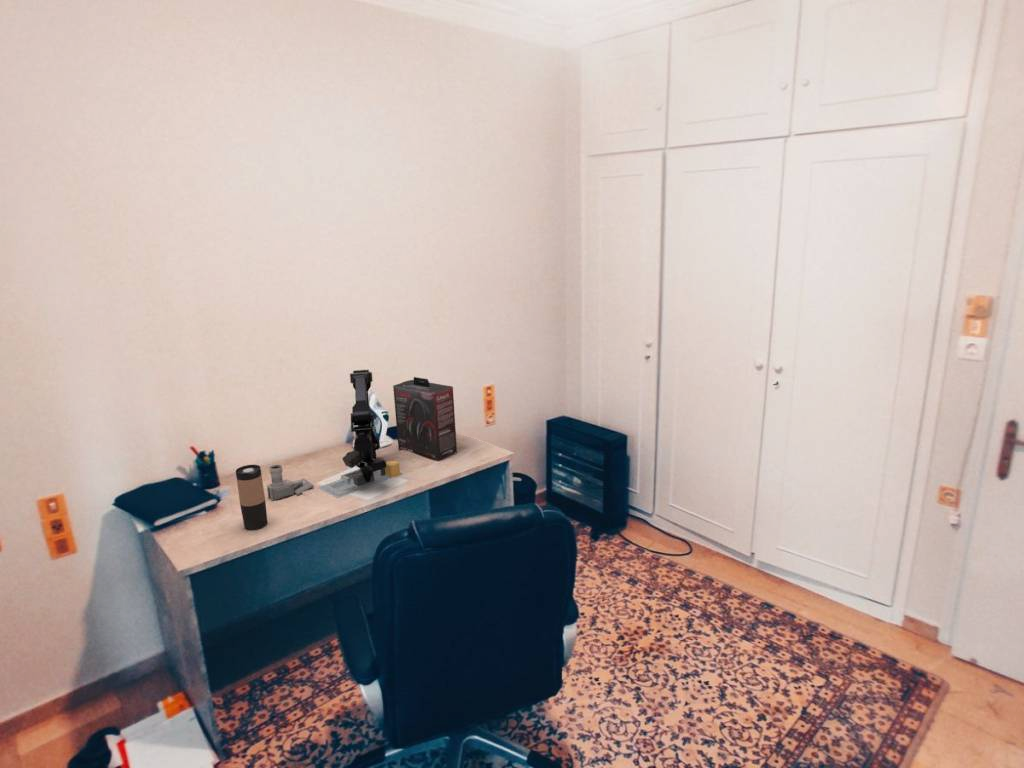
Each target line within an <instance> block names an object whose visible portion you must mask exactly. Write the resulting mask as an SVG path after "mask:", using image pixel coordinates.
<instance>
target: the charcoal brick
mask: <svg viewBox="0 0 1024 768" xmlns="http://www.w3.org/2000/svg"><path fill="white" fill-rule="evenodd" d="M353 480H354V484H355V485H357V486H359V485H363V484H366V483H369V482H372V481H374V473H373V474H372V476H371V479H370V481H369V482H366V481H365V478H364V476H363V474H359V475H356V476H353Z"/></svg>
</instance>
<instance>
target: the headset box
mask: <svg viewBox="0 0 1024 768" xmlns="http://www.w3.org/2000/svg"><path fill="white" fill-rule="evenodd" d="M392 388H393V400H394V410H395V423H396V434H397V448H398V451H405V452H406V451H407V452H410V453H412V454H415V455H417V456H419V457H422V458H426V459H431V460H434V461H441V460H443V459H445V458H448V457H449V456H452V455H454V454H456V453H458V447H457V432H456V430H457V429H456V415H455V403H454V402H455V400H454V387H453V386H452V385H445V384H441V383H439V384H438V383H433V382H430V381H429V379H428V378H423V377H417V376H413V379H409V380H406V381H402V382H401V383H398V384H394V385H393V386H392Z"/></svg>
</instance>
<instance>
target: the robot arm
mask: <svg viewBox="0 0 1024 768" xmlns="http://www.w3.org/2000/svg"><path fill="white" fill-rule="evenodd" d="M352 371H353V372H352V373H349V379H350V384H352V387H353V389H354V390H355V391H354V392H355V393H354V395H355V397H354V398H355V404H354V405H353V406H352V412H351V413H350V429H351V430H350V432H352V433H353V432H354V440H353V441H354V443H353V450H352V451H349V452H347V453H345V456H343V457H342V458H341V459H342V461H343V462H344V465H345V467H348V468H350V469H352V468H354V467H357V468H358V469H360V470H361V472H362V474H363V476H364V478H365V481H366V482H369V481H370V479H371V476H372V474H373V472H375V471H378V470H380V469H383V468H386V467H387V464H386V463H387V461H386V460H384V459H382V458H380V457H379V458H377V457H378V456H377V451H379V449H381V444H380V443H381V442H380V438H379V437H378V435H376V430H375V429H374V427H375V414H373V411H371V407H370V399H369V391H370V388H371V386H372V382H373V380H374V379H373V372H372V371H370V369H358V370H357V369H356V370H352Z"/></svg>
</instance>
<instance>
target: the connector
mask: <svg viewBox="0 0 1024 768" xmlns="http://www.w3.org/2000/svg"><path fill="white" fill-rule="evenodd" d="M386 464H387V467H386V468H385V475H386V476H388V477H390V478H391V479H393V478H396V477H398V475H399V476H400V473H401V471H400V470H401V468H400V463H399V462H398V461H395V460H390V461H386Z"/></svg>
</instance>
